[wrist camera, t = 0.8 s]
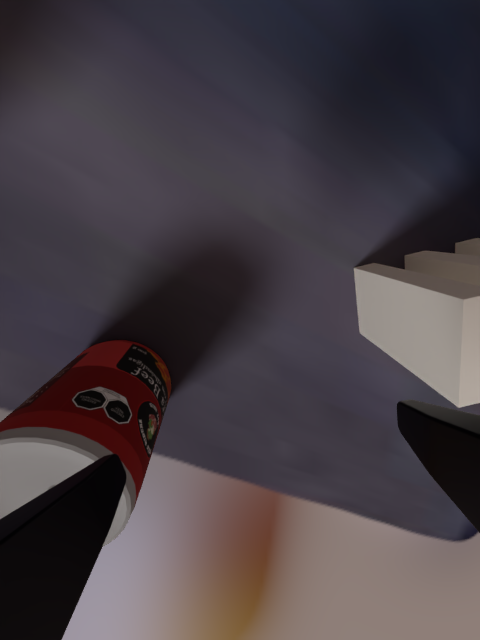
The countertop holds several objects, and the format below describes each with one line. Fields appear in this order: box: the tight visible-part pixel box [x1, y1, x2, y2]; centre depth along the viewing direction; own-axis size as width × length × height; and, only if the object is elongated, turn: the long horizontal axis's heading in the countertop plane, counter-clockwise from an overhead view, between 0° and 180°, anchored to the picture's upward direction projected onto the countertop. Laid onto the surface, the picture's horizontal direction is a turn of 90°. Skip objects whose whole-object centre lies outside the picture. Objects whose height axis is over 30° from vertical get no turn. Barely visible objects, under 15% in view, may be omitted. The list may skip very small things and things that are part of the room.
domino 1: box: [404, 251, 480, 286], centre depth 17 cm, size 2×6×10 cm, turn 13°
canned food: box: [0, 340, 171, 547], centre depth 17 cm, size 8×8×11 cm
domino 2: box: [354, 263, 480, 408], centre depth 17 cm, size 2×6×10 cm, turn 13°
